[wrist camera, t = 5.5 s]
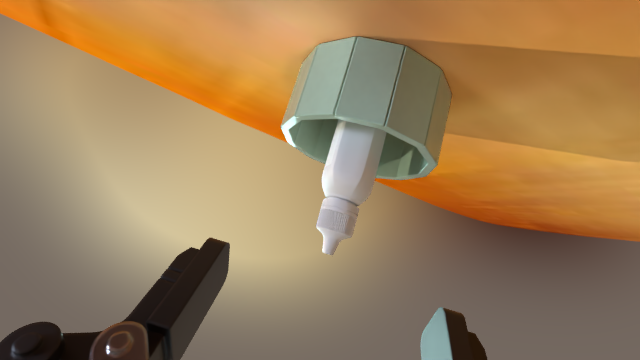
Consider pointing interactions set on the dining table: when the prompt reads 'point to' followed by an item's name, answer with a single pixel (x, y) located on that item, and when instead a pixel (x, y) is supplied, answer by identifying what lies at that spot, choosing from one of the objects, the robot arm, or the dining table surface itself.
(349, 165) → the eye dropper bottle
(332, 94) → the celadon cup
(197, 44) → the dining table surface
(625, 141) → the dining table surface
